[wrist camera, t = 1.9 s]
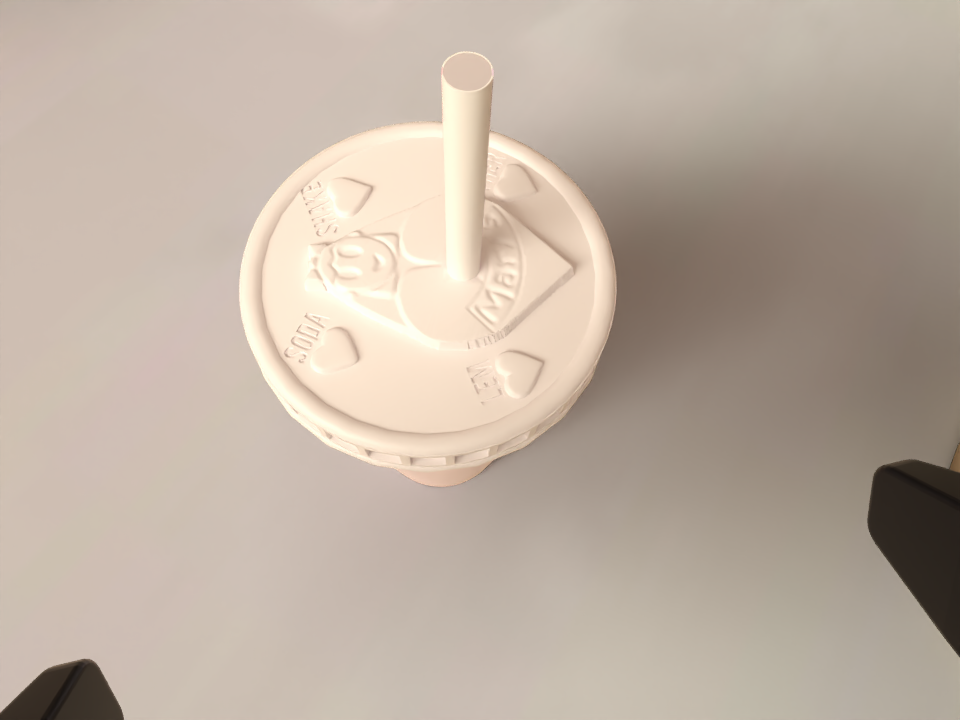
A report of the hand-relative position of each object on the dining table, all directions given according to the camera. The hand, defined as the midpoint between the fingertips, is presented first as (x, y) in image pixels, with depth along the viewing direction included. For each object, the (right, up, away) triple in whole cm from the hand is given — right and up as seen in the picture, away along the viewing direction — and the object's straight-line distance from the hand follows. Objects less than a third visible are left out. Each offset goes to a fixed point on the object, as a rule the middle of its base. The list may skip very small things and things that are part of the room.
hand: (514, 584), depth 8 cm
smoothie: (-2, +1, +13) cm, 13 cm away
